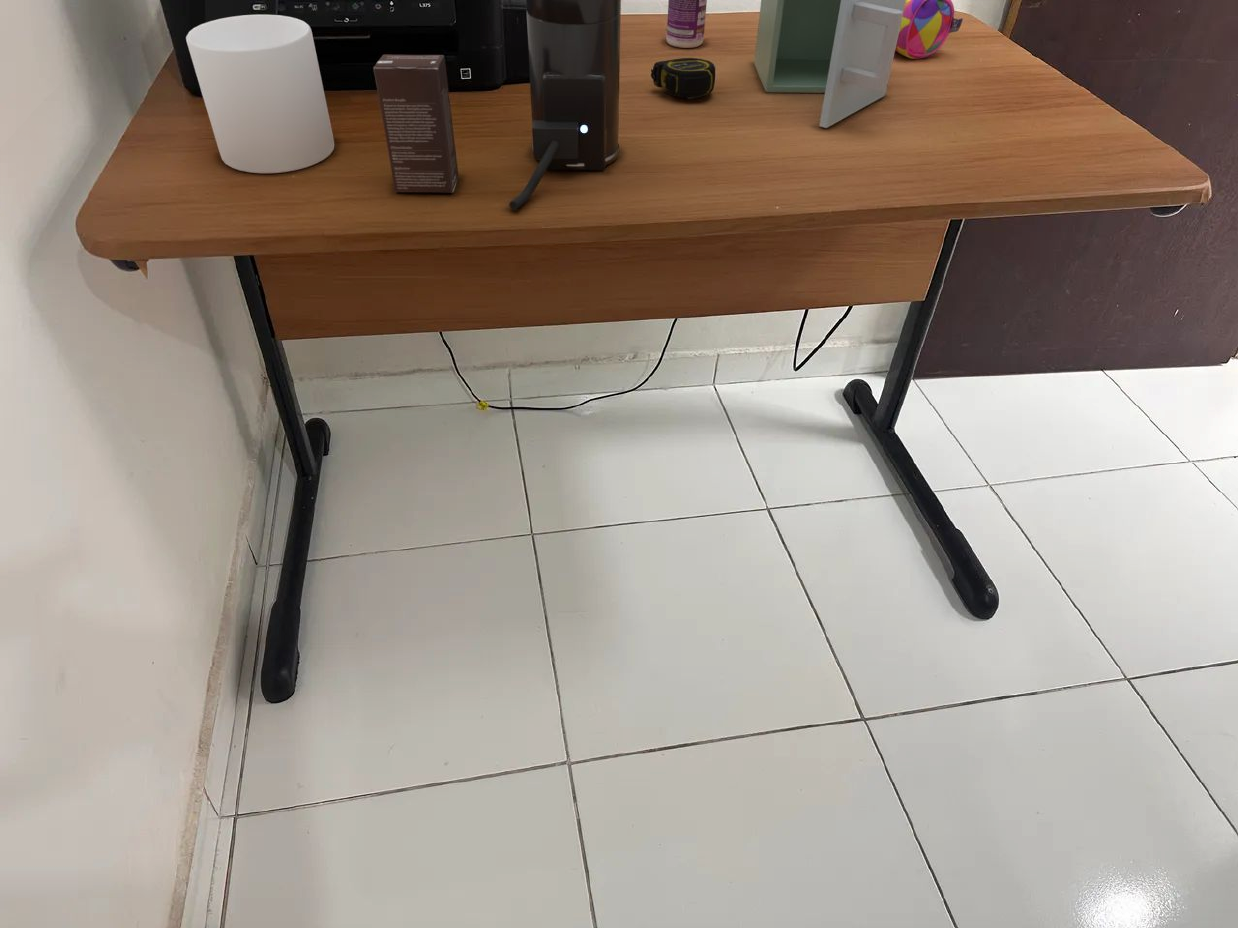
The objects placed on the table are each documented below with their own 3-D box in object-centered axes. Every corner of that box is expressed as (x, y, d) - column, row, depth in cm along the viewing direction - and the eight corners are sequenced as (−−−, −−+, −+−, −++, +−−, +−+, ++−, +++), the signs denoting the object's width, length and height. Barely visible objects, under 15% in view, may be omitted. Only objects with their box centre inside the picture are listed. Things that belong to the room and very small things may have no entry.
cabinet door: (923, 106, 106) (961, -44, 95) (866, 140, 98) (900, -20, 87) (878, 93, 109) (909, -54, 98) (818, 126, 101) (846, -31, 90)
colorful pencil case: (957, 57, 121) (976, -15, 115) (904, 66, 118) (921, -7, 112) (860, 15, 135) (872, -50, 129) (810, 22, 132) (821, -45, 126)
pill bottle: (704, 49, 121) (710, -28, 115) (666, 48, 121) (670, -29, 115) (702, 37, 125) (708, -38, 119) (665, 36, 125) (669, -39, 119)
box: (459, 176, 90) (446, 53, 81) (453, 195, 86) (438, 69, 78) (401, 175, 90) (382, 51, 81) (392, 194, 86) (371, 67, 78)
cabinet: (880, 94, 110) (912, -56, 99) (765, 92, 109) (785, -58, 98) (860, 65, 118) (888, -76, 107) (753, 63, 117) (770, -78, 106)
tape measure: (697, 82, 112) (700, 51, 109) (723, 100, 107) (726, 68, 104) (649, 89, 110) (651, 57, 107) (673, 107, 105) (675, 75, 102)
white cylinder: (356, 139, 96) (334, 22, 88) (292, 181, 88) (262, 57, 80) (266, 123, 99) (237, 9, 91) (197, 163, 91) (158, 41, 82)
